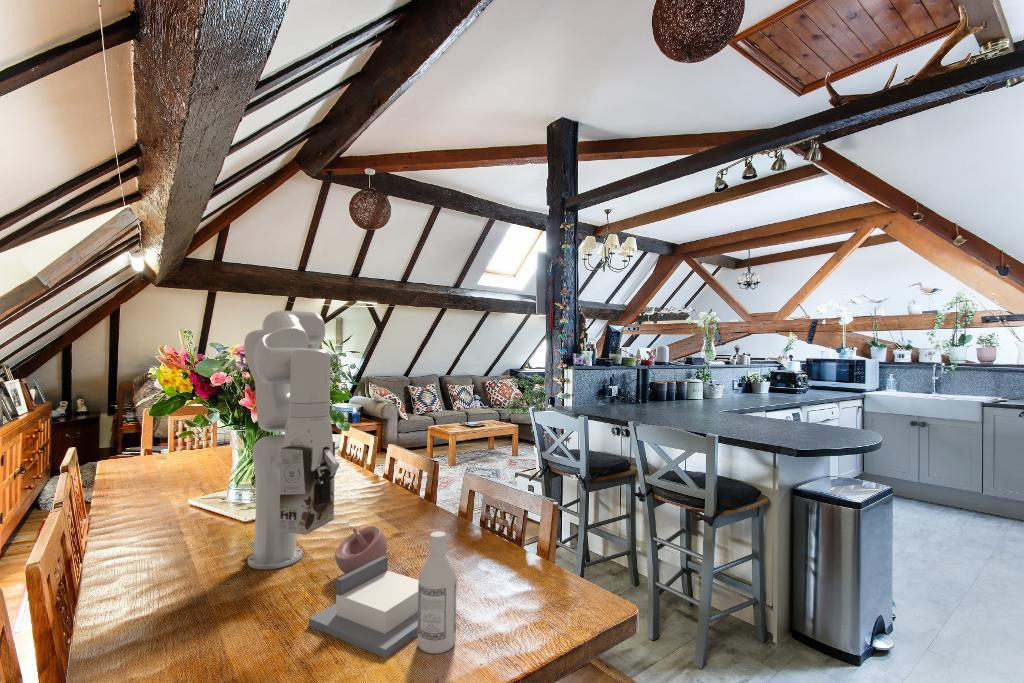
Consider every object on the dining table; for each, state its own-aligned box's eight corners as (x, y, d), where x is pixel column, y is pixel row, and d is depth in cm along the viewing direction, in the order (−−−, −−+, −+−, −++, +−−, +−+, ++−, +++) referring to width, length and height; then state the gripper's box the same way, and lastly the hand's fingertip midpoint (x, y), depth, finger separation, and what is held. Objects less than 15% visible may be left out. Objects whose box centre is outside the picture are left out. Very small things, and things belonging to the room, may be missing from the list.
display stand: (308, 626, 97) (309, 581, 97) (382, 584, 114) (383, 547, 114) (385, 658, 87) (386, 609, 87) (453, 607, 104) (454, 566, 104)
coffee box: (307, 535, 93) (308, 449, 94) (277, 532, 95) (279, 447, 95) (335, 519, 102) (336, 440, 103) (307, 517, 104) (309, 439, 104)
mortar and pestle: (327, 572, 120) (328, 524, 120) (375, 559, 127) (375, 514, 128) (344, 591, 111) (345, 539, 111) (395, 577, 118) (395, 528, 118)
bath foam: (438, 628, 96) (439, 524, 97) (463, 642, 92) (464, 533, 92) (409, 644, 91) (411, 534, 91) (434, 660, 86) (436, 544, 87)
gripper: (265, 409, 100) (264, 497, 100) (322, 416, 91) (321, 512, 91) (298, 406, 107) (297, 488, 106) (354, 412, 98) (353, 502, 97)
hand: (308, 499), depth 99 cm, fingers closed on coffee box, 7 cm apart
